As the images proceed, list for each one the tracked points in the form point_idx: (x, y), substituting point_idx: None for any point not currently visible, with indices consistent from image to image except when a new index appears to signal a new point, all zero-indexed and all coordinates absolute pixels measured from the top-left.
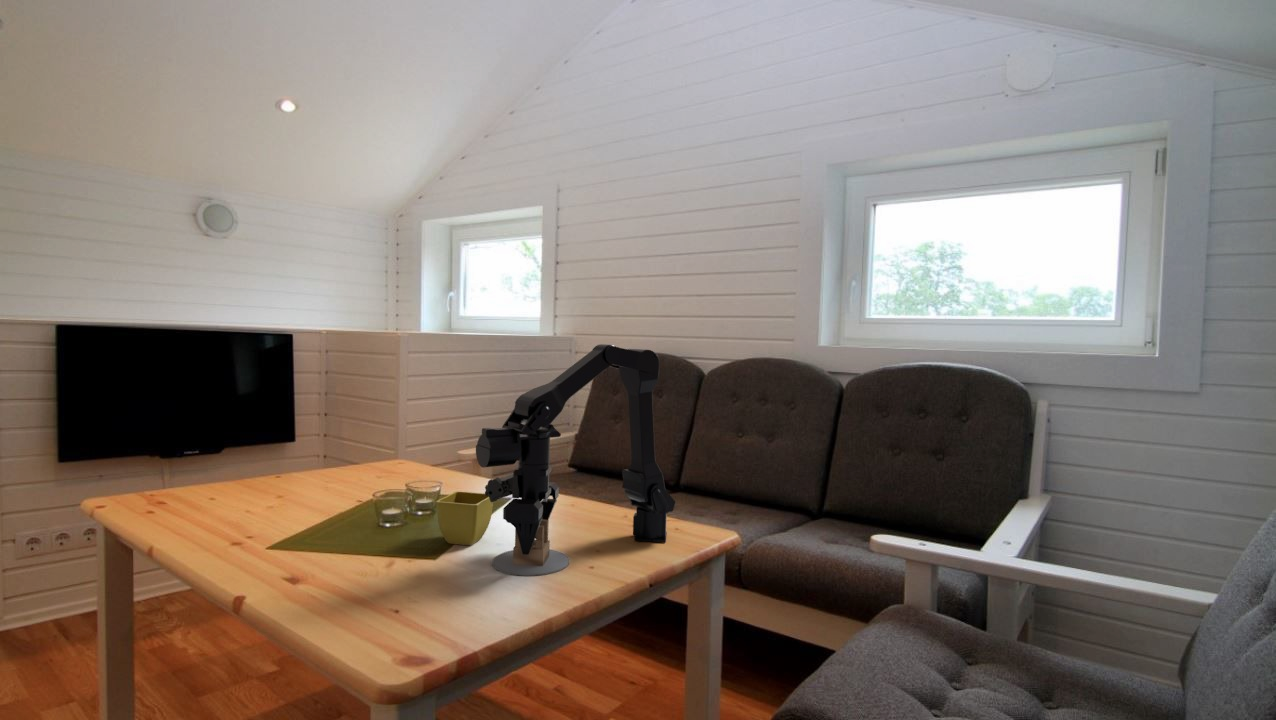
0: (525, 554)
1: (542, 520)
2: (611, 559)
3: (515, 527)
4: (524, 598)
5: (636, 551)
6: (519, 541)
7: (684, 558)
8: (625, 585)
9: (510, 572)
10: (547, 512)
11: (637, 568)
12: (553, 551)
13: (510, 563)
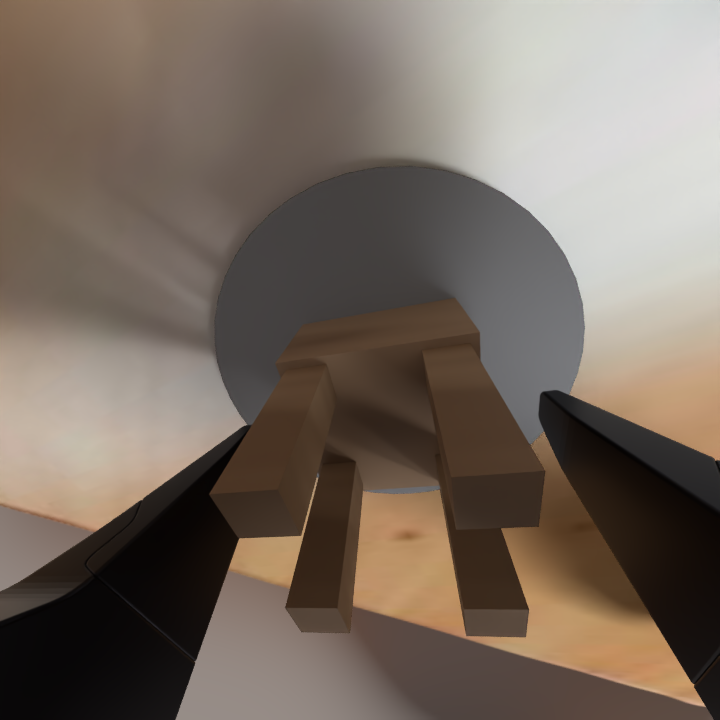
0: None
1: (486, 615)
2: None
3: (6, 591)
4: (100, 456)
5: (583, 598)
6: (171, 478)
7: (530, 656)
8: None
9: (218, 353)
10: (704, 678)
11: (433, 604)
12: (533, 420)
13: (307, 309)
